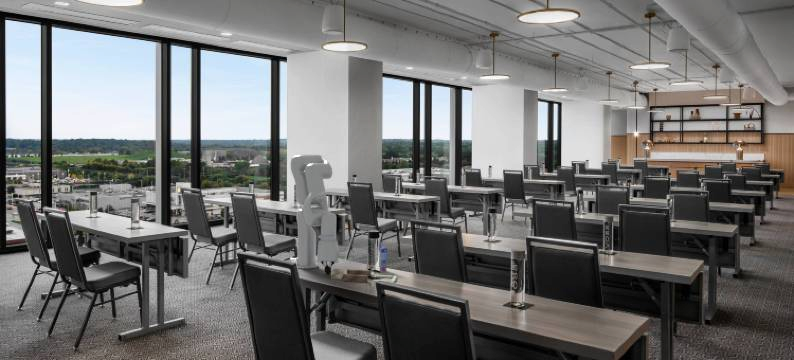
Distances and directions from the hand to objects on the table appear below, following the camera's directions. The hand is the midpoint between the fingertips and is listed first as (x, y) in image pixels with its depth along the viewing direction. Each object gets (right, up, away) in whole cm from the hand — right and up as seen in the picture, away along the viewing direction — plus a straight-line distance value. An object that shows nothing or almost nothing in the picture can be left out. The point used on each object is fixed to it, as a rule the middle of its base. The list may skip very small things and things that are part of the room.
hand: (327, 274), depth 289 cm
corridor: (+15, -2, -1) cm, 15 cm away
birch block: (+5, -2, 0) cm, 5 cm away
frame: (+29, -2, -3) cm, 29 cm away
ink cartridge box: (+24, -1, +18) cm, 30 cm away
